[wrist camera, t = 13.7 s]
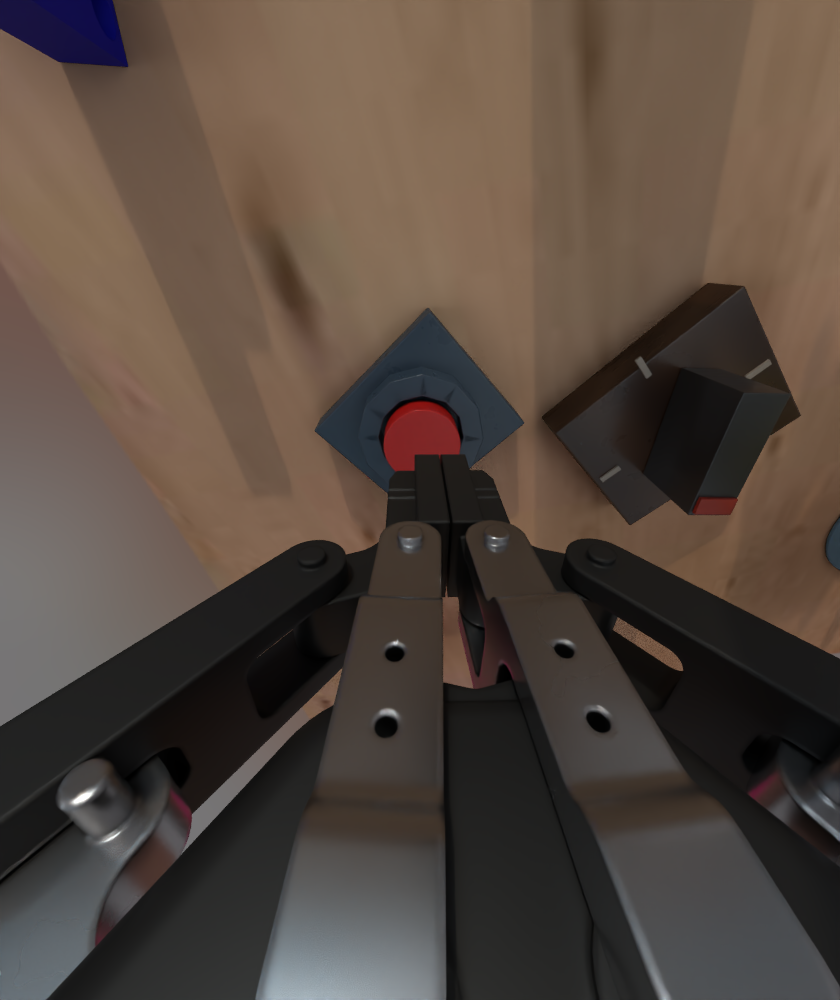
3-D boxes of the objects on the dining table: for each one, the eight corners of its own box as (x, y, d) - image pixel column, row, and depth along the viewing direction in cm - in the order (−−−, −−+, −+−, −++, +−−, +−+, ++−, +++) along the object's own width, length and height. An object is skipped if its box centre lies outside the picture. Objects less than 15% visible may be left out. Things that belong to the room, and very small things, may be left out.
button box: (427, 307, 24) (432, 315, 20) (516, 411, 28) (532, 434, 24) (319, 418, 27) (308, 442, 24) (411, 499, 31) (412, 529, 27)
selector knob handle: (681, 367, 23) (747, 394, 19) (720, 368, 23) (796, 395, 19) (642, 474, 27) (690, 517, 22) (676, 474, 27) (731, 517, 23)
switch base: (704, 273, 24) (743, 276, 21) (767, 407, 28) (806, 423, 25) (535, 411, 28) (550, 428, 25) (615, 508, 32) (635, 531, 29)
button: (422, 384, 23) (424, 393, 21) (471, 436, 24) (476, 447, 23) (369, 434, 24) (367, 446, 23) (419, 480, 26) (420, 494, 24)
